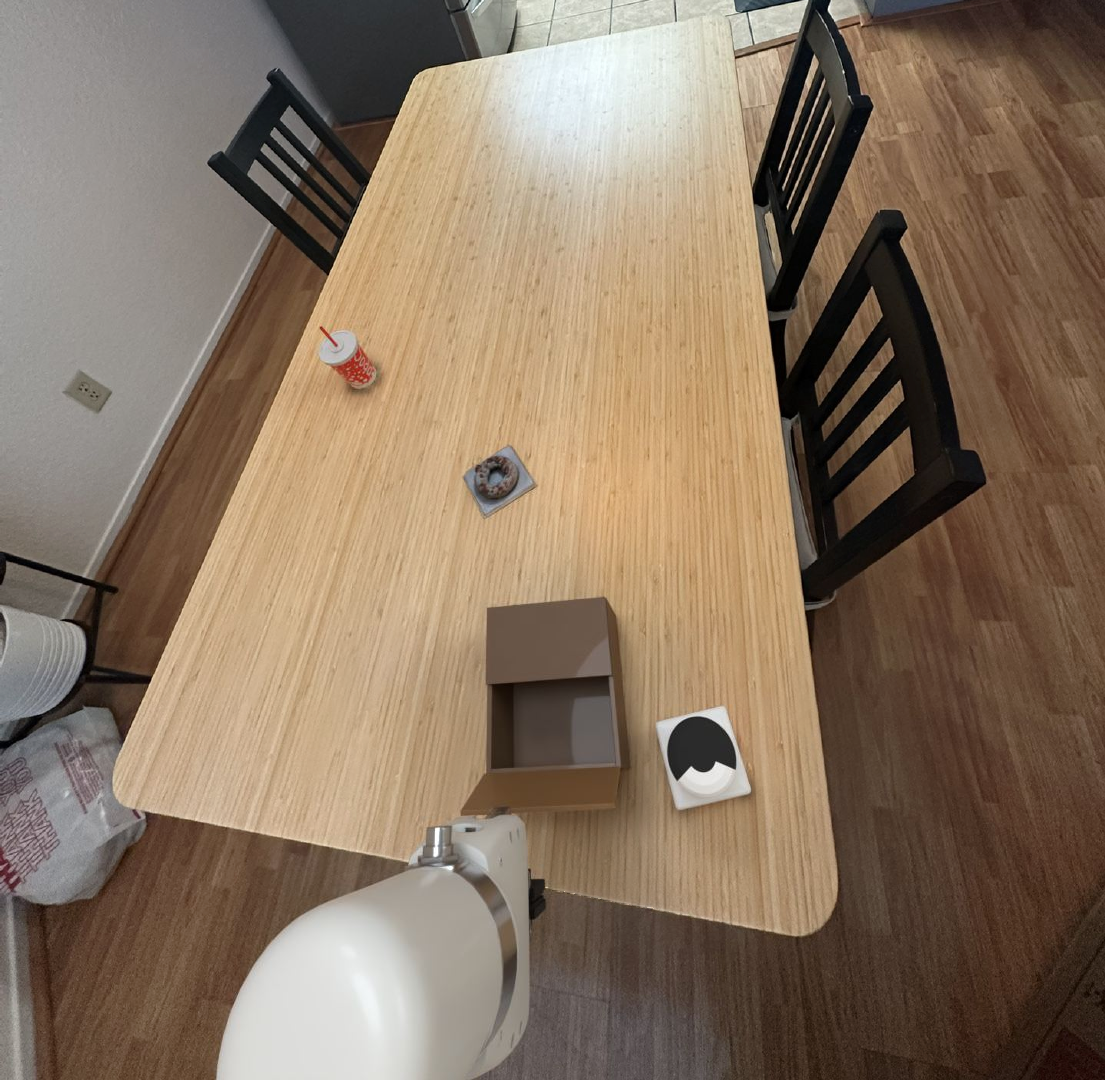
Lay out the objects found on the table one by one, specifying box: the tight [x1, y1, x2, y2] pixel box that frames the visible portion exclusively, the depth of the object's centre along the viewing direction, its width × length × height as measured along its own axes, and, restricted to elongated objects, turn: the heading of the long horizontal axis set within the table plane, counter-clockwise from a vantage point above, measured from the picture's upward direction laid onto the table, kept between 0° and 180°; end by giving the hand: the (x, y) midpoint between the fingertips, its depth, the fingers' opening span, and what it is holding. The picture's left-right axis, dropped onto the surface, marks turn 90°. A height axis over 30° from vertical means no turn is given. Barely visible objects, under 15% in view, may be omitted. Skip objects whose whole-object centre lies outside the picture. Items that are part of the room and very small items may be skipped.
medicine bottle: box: [654, 705, 752, 811], centre depth 60 cm, size 7×7×12 cm
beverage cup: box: [318, 325, 377, 390], centre depth 96 cm, size 6×6×14 cm
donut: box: [462, 444, 538, 520], centre depth 86 cm, size 8×8×2 cm
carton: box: [485, 596, 632, 774], centre depth 66 cm, size 15×13×10 cm
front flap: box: [459, 766, 621, 817], centre depth 54 cm, size 7×13×1 cm
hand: (524, 893), depth 45 cm, fingers closed
